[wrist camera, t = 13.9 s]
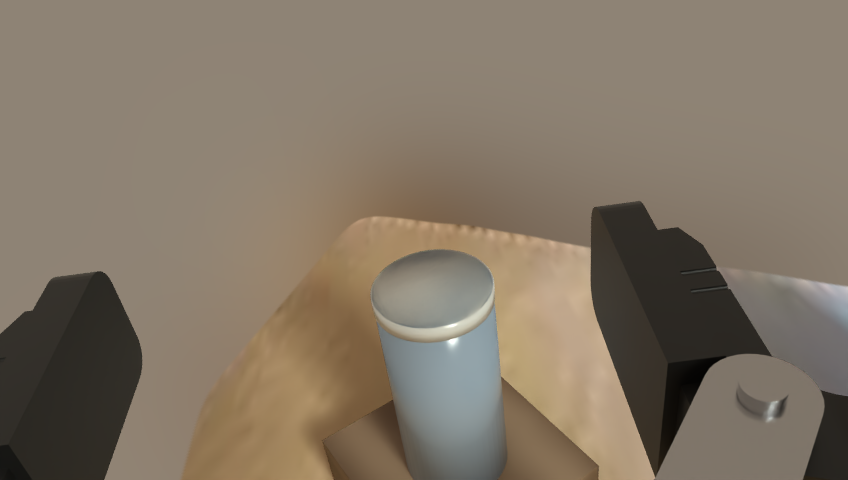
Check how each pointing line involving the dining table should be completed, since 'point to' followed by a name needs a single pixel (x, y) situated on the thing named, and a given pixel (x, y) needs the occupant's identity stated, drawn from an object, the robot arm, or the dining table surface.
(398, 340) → the tumbler
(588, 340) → the dining table surface
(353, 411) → the dining table surface
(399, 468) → the block
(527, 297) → the dining table surface
